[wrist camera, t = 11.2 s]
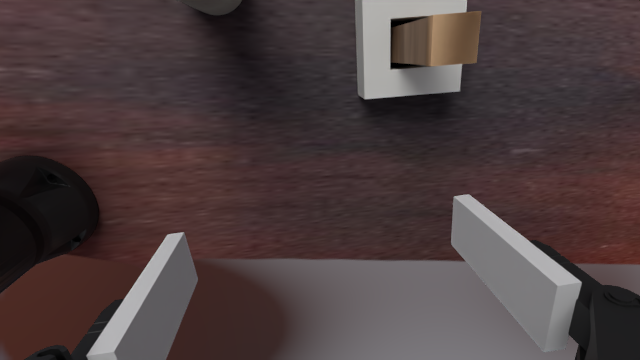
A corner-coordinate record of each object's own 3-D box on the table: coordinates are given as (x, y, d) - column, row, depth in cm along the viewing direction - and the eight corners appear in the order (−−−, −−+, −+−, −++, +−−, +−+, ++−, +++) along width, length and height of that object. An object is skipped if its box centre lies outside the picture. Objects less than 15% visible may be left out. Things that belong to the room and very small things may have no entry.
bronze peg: (385, 62, 44) (430, 66, 29) (385, 28, 42) (433, 14, 27) (415, 59, 44) (476, 62, 29) (416, 26, 42) (481, 11, 27)
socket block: (357, 94, 45) (364, 99, 40) (354, -4, 41) (362, -12, 36) (443, 87, 45) (459, 91, 41) (449, -11, 41) (468, -20, 36)
